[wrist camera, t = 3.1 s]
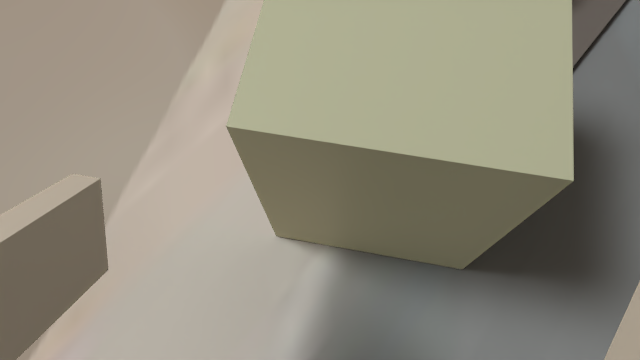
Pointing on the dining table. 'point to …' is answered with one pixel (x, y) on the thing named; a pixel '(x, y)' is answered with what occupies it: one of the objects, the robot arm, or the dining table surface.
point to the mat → (590, 22)
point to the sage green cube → (407, 121)
